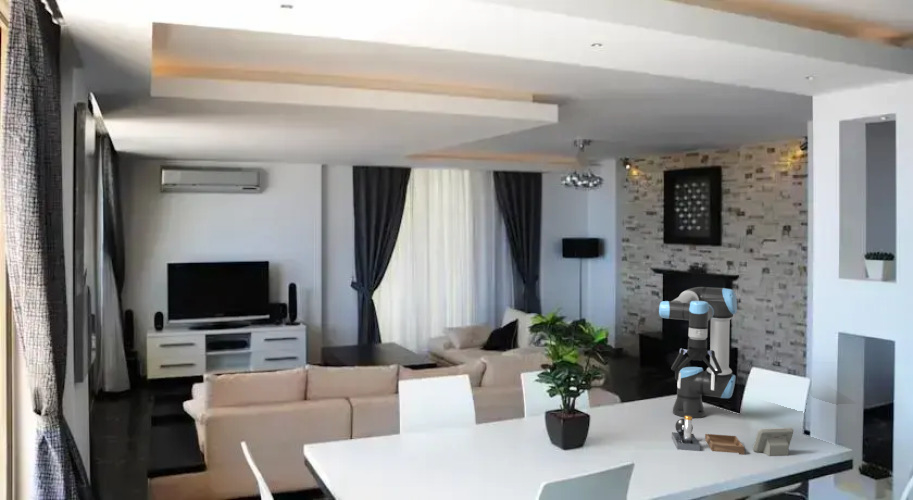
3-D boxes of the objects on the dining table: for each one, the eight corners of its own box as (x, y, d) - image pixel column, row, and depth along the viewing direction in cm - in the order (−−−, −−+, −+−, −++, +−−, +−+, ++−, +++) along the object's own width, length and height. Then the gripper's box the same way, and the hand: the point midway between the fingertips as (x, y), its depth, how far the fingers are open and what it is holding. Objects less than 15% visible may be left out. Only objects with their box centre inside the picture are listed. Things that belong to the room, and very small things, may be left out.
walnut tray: (704, 440, 310) (705, 433, 310) (735, 443, 309) (735, 435, 308) (712, 452, 295) (712, 444, 295) (744, 454, 293) (744, 447, 293)
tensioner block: (671, 439, 312) (672, 416, 311) (692, 440, 310) (693, 417, 310) (677, 450, 296) (678, 426, 296) (699, 452, 295) (700, 428, 294)
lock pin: (682, 446, 300) (684, 415, 300) (690, 446, 300) (691, 415, 299) (683, 448, 298) (685, 417, 297) (691, 448, 297) (692, 417, 297)
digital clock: (787, 450, 301) (788, 425, 301) (797, 457, 292) (798, 431, 292) (749, 448, 301) (750, 424, 301) (757, 455, 292) (759, 430, 292)
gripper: (668, 337, 295) (666, 388, 296) (731, 341, 292) (728, 392, 293) (665, 335, 303) (663, 384, 303) (726, 338, 299) (724, 388, 300)
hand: (695, 388), depth 298 cm, fingers open, 13 cm apart
